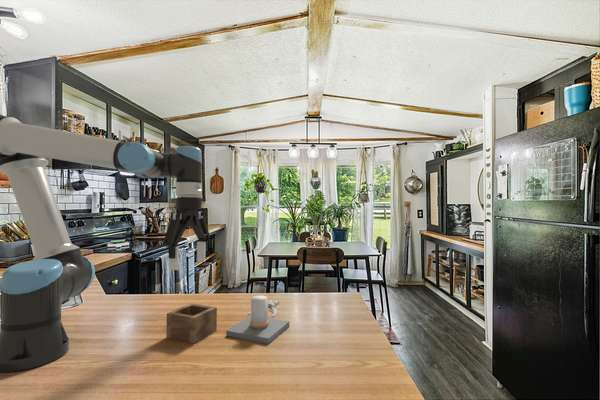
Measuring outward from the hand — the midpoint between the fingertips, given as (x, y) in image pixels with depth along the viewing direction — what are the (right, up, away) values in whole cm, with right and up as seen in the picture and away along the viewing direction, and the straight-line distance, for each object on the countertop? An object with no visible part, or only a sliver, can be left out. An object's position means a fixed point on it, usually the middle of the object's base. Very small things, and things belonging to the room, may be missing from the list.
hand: (188, 265), depth 98 cm
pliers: (+23, -21, +19) cm, 36 cm away
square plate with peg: (+22, -20, -1) cm, 30 cm away
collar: (+3, -20, -4) cm, 20 cm away
